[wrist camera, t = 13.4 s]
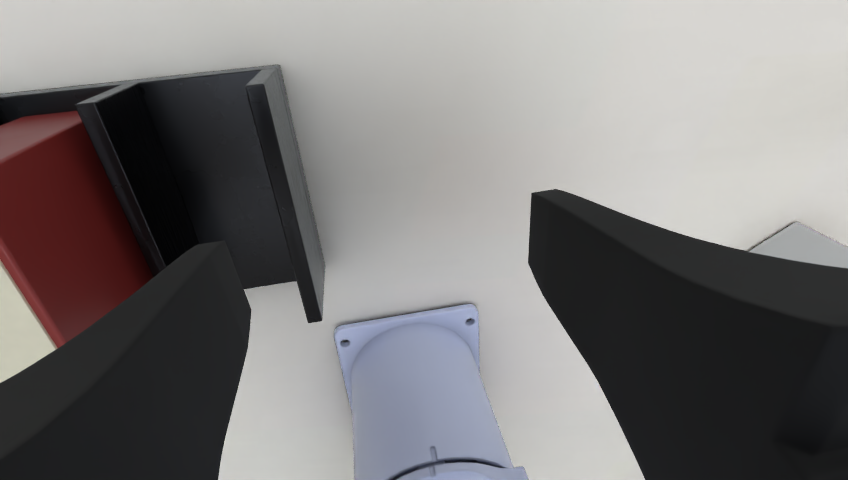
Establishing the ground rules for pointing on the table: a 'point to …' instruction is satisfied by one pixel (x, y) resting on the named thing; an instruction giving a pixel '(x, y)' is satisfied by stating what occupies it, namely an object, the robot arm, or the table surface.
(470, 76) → the table surface
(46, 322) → the book
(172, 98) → the rack
